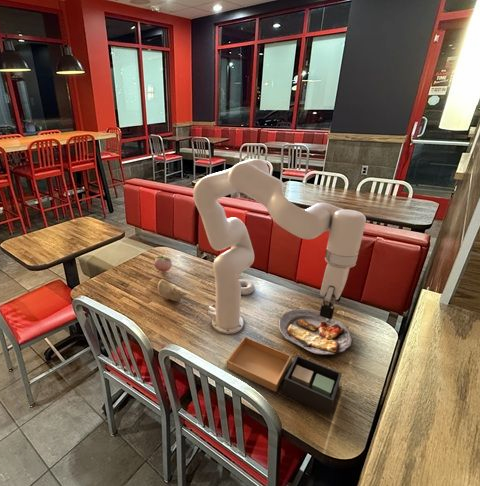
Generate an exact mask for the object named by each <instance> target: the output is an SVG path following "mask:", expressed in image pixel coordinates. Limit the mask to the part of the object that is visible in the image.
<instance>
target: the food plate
mask: <svg viewBox="0 0 480 486" xmlns="http://www.w3.org/2000/svg"><path fill="white" fill-rule="evenodd" d="M278 330H279V331H280V333H281V334H282V336H283V337H284V338H285V339H286V340H288V341H290V342H291V343H293V344H295V345H297V346H298V347H300V348H302V349H304V350H306V351H308V352H310V353H313V354H315V355H319V356H336V355H339V354H343V353H344V352H346V351H347V350H348V349H349V348H351V346H352V344H353V337H352V333H351V330H350V329H348V327H346V325H345V324H344V323H343V322H341V321H340V320H339V319H337V318H335V317H334V316H333V317H332V319H327V318H325V317H322V316H320V311H318V310H316V309H311V308H298V309H292V310H289V311H286V312H285V313H284V314H283V315H282V316H281V317H280V318H279V321H278Z"/></svg>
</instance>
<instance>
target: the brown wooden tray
mask: <svg viewBox="0 0 480 486" xmlns="http://www.w3.org/2000/svg"><path fill="white" fill-rule="evenodd" d="M292 356H293V355H291V354H289V353H286V352H284V351H282V350H279V349H276V348H274V347H273V346H272V347H271V346H269V345H267V344H265V343H261V342H260V341H257V340H255V339H252V338H249V337H247V336H244V337H243V338H242V340H241V341H240V342H239V344H238V345H237V346H236V347H235V349H234V351H233V352H232V353H231V354H230V355H229V357H228V358H227V360H226V363H225V367H226V369H228V370H229V371H231V372H234V373H236V374H238V375H240V376H242V377H243V378H246V379H248V380H250V381H252V382H254V383H256V384H258V385H260V386H262V387H264V388H266V389H269V390H270V391H272V392H274V393H277V391H278V389H279V387H280V385H281V383H282V381H283V379H284V377H285V376H286V373H287V372H288V370H289V368H290V366H291V364H292V358H293V357H292Z"/></svg>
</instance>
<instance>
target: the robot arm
mask: <svg viewBox="0 0 480 486" xmlns="http://www.w3.org/2000/svg"><path fill="white" fill-rule="evenodd" d="M284 190H285V183H284V182H283V180H281V179H279V178H277V177H275V176H273V175H271V174H270V169H269V166H268V164H267V163H266V162H265V161H264V160H262V159H259V158H251V159H247V160H244V161H240V162H238V163H235V164H234V165H233V166H232V167H230V168H228V169H225V170H222V171H221V170H220V171H218V172H214V173H210V174H208V175H206V176H204V177H202V178H200V179H198V181H197V182H196V183H195V185H194V187H193V192H192V198H193V201H194V204H195V207H196V208H197V211H198V213H199V215H200V217H201V221H202V224H203V228H204V231H205V234H206V237H207V240H208V244H209V245H210V247H211V248H212V249H213V250H215V251H218V252H219V251H224V250H225V251H224V252H222V253H220V254H219V255H218V256H217V257H216V258H214V260H213V263H212V270H213V276H214V282H215V307H213V306H211V305H210V306H208V308H207V310H208V312H207V315H209V316H211V317H212V318H211V325H212V327H213V329H214V330H215V331H217V332H219V333H222V334H229V335H231V334H236V333H238V332H240V331H242V329H243V327H244V324H245V323H244V322H245V321H244V319H243V317H242V316H241V301H242V300H241V299H242V298H241V297H242V296H241V295H242V294H241V284H240V281H239V280H240V279H239V275H241V274H242V273H243V272H244V271H246V270H247V269H248V268H250V267H251V266H252V265H253V264H254V263H255V251H254V249H253V248H254V247H253V245H252V241H251V238H250V234H249V231H248V229H247V226H246V225H245V223H244V221H242V220H241V219H240V218H238V217H232V216H231V217H227V215H226V211H225V209H224V207H223V206H222V204H220V202H219V201H218V200H219V199H221V198H223V197H226V196H229V195H232V194H235V193H237V192H240V193H242V194H244V195H245V196H247V197H249V198H250V199H253V200H254V201H256V202H257V203H259V204H261V206H264V207H265V208H266V210H267V213H268V214H269V215H270V217H271V218H272V220H273V221H274V222H275V224H277V225H278V226H279V227H281V228H282V229H283V230H285V231H286V232H288V233H290V234H292V235H293V236H295V237H297V238H300V239H303V240H313V239H316V238H317V237H319V236H320V235H322V234H324V233H325V232H329V234H328V240H327V245H326V251H325V256H324V261H325V262H326V267H325V270H324V274H323V277H322V283H321V287H320V291H319V295H320V296H322V297H323V299H322V303H321V305H320V311H319V312H320V316H322V317H325V318H327V319H332V317H333V318H334V313H335V304H336V302H341V299H342V294H343V291H344V288H345V286H346V283H347V281H348V277H349V273H350V269H351V268H354V267H355V266H356V265H357V261H358V257H359V254H360V253H359V252H360V248H361V244H362V241H363V236H364V232H365V227H366V222H367V217H366V216H365V214H364V213H362V212H360V211H358V210H354V209H344V208H341V207H338V206H336V205H334V204H331V203H328V202H317V203H314V204H313V205H311V206H309V207H307V208H306V209H303V208H301V207H300V206H298V205H297V204H294V203H293V202H291V201H290V200H289V199H288V198H287V197H286V196H285V194H284ZM229 247H230V249H228V248H229ZM226 249H227V250H226Z"/></svg>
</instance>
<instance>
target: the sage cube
mask: <svg viewBox="0 0 480 486" xmlns="http://www.w3.org/2000/svg"><path fill="white" fill-rule="evenodd" d="M334 382H335V381H334V380H331V379H329V378H327V377H324V376H322V375H319V374H317V375H316V377H315V380H314V382H313V385H312V390H314V391H317V392H319V393H321V394H323V395H325V396H328V397H330V398H331V394H332V391H333V386H334Z"/></svg>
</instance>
